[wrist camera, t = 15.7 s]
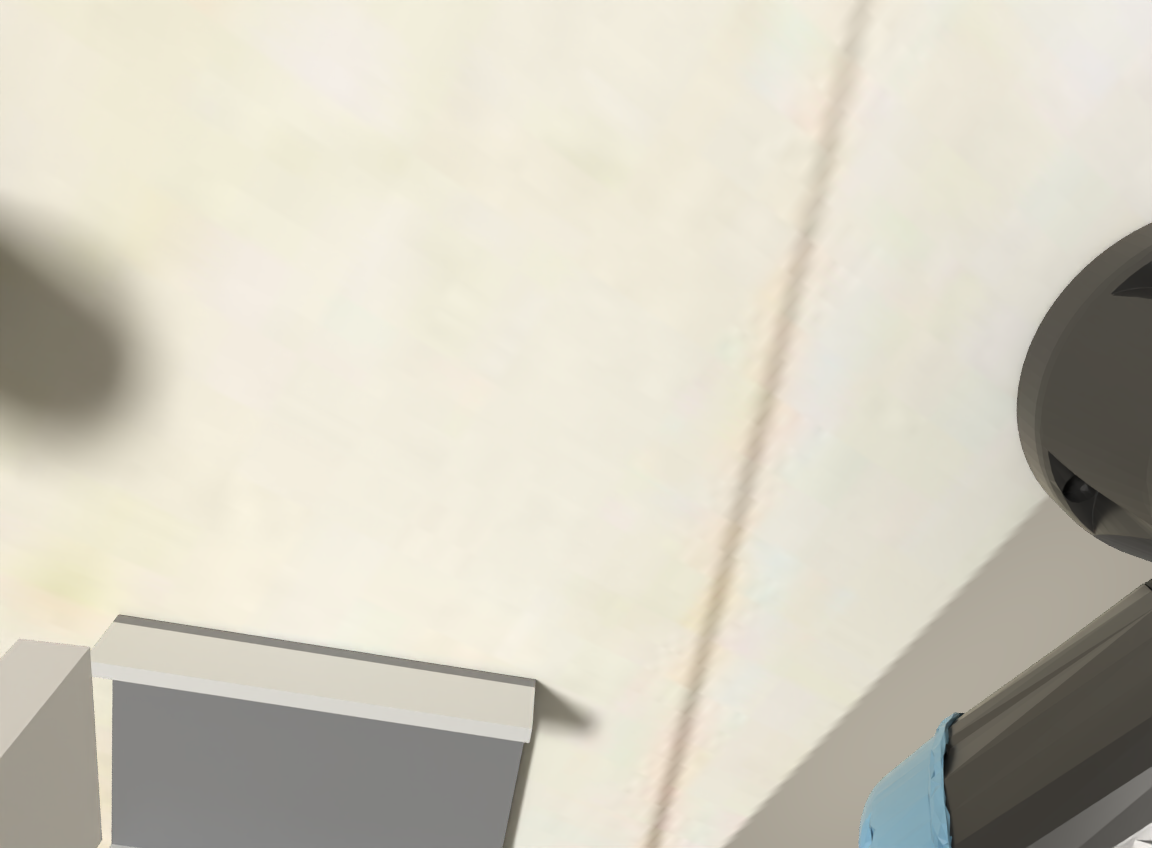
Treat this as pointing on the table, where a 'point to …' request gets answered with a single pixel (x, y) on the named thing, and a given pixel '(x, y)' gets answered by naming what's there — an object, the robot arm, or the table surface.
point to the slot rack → (303, 744)
